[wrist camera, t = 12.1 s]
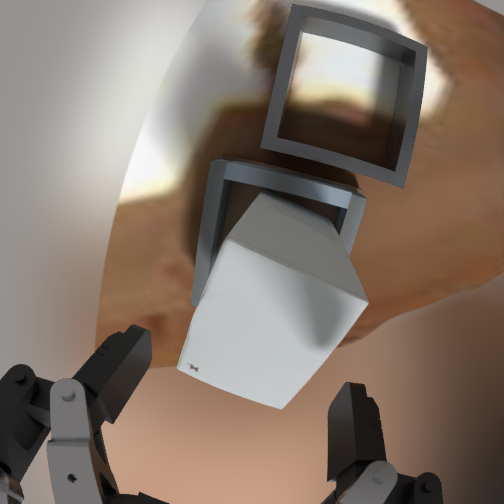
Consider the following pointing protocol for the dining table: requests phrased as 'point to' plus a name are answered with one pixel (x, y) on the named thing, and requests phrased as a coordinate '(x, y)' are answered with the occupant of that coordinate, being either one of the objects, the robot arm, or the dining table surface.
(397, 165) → the socket
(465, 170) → the dining table surface
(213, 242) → the frame
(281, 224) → the small box
